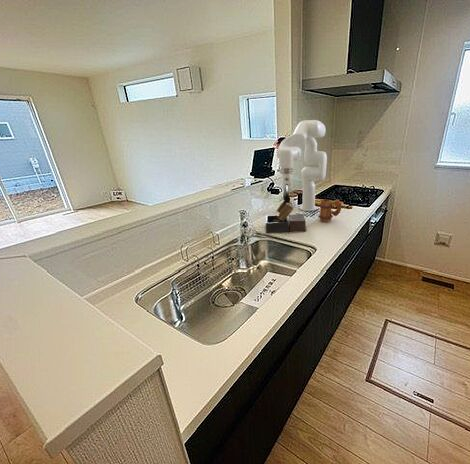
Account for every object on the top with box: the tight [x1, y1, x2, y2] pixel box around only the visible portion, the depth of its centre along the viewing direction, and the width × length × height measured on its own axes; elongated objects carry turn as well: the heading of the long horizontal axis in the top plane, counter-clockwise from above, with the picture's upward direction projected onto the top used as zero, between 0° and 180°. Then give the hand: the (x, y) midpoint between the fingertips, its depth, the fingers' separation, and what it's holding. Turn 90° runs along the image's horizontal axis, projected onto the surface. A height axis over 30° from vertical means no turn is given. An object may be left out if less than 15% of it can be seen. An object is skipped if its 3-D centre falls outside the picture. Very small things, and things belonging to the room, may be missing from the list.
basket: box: [265, 214, 290, 234], centre depth 157 cm, size 14×14×7 cm
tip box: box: [276, 200, 294, 221], centre depth 153 cm, size 13×13×7 cm
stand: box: [288, 213, 307, 233], centre depth 157 cm, size 12×10×7 cm
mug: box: [317, 198, 343, 223], centre depth 165 cm, size 15×8×15 cm, turn 74°
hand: (286, 200), depth 151 cm, fingers closed on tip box, 6 cm apart
